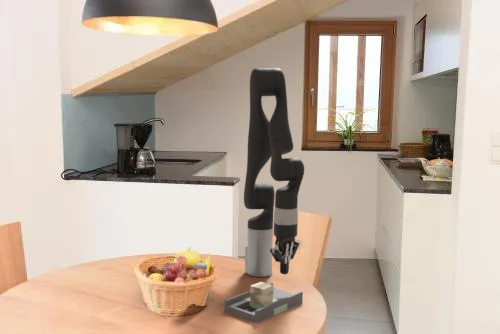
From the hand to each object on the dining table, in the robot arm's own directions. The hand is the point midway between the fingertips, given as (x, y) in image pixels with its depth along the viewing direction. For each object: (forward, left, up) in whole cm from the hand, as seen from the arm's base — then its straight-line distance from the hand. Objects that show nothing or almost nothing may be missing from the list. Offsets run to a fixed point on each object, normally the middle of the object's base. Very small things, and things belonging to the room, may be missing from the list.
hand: (284, 273), depth 174 cm
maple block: (0, -11, -6) cm, 13 cm away
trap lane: (0, -10, -8) cm, 13 cm away
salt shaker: (-16, -22, -8) cm, 28 cm away
